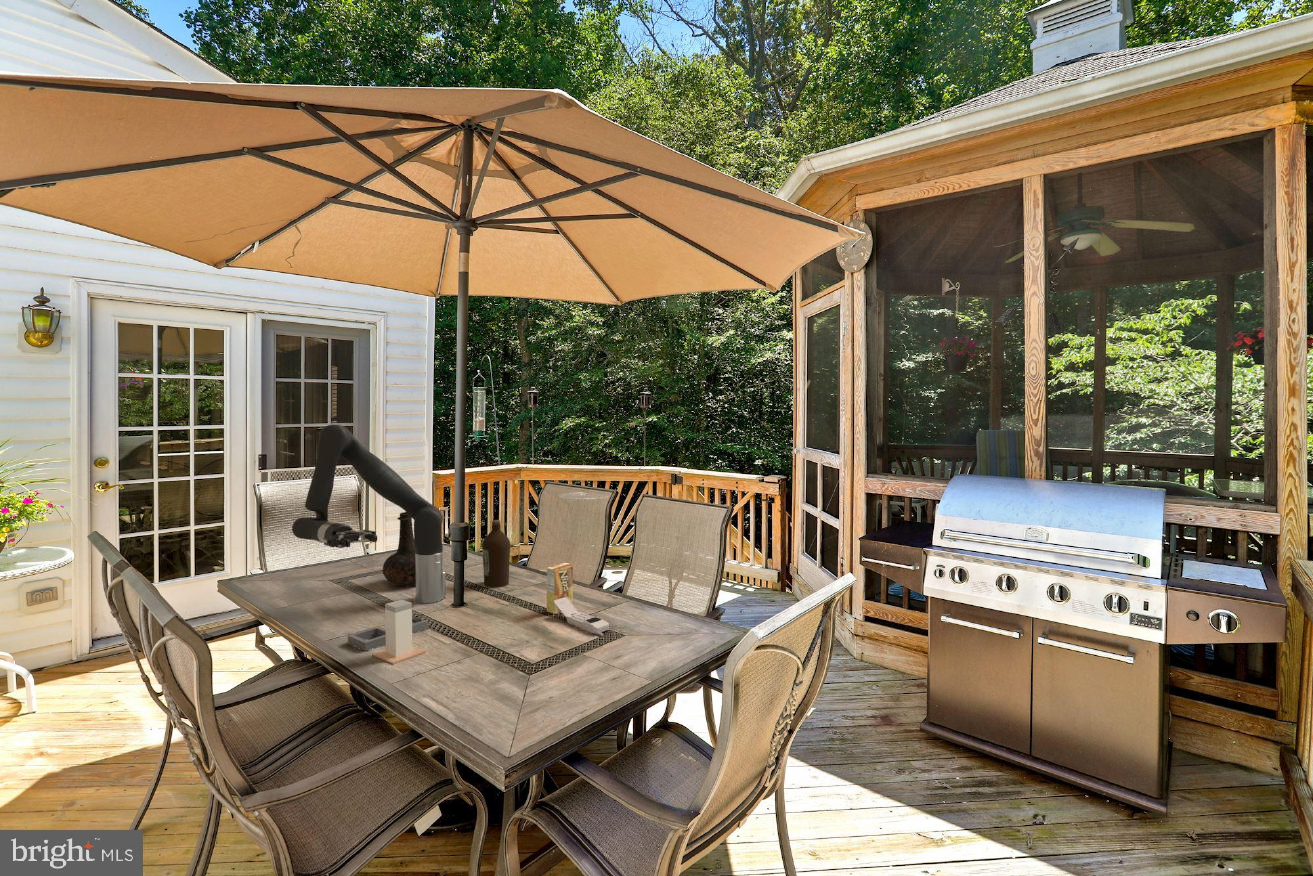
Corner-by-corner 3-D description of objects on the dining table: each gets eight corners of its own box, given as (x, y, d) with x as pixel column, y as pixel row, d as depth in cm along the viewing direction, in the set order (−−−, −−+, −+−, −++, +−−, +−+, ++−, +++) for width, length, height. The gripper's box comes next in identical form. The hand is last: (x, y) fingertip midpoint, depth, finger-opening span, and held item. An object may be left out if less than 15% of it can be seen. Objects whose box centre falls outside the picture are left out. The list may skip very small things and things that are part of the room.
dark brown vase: (441, 578, 249) (440, 509, 247) (414, 592, 232) (413, 517, 230) (402, 575, 253) (401, 507, 251) (372, 588, 236) (371, 515, 234)
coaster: (405, 644, 182) (405, 642, 182) (425, 652, 176) (425, 650, 176) (372, 655, 174) (372, 653, 174) (393, 664, 168) (393, 662, 168)
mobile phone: (566, 596, 210) (614, 614, 192) (566, 613, 210) (614, 633, 193) (551, 600, 206) (599, 619, 188) (552, 617, 206) (599, 638, 188)
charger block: (402, 647, 178) (401, 599, 178) (412, 651, 175) (411, 602, 175) (386, 653, 174) (385, 604, 174) (396, 657, 171) (395, 607, 171)
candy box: (564, 605, 218) (564, 562, 217) (573, 607, 216) (573, 564, 215) (546, 612, 211) (546, 567, 210) (555, 614, 208) (555, 569, 208)
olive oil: (506, 578, 250) (506, 517, 248) (513, 585, 240) (513, 522, 239) (479, 582, 245) (479, 519, 243) (485, 589, 235) (485, 524, 234)
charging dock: (412, 623, 199) (412, 614, 199) (430, 629, 194) (430, 620, 194) (347, 643, 182) (347, 633, 182) (365, 651, 176) (365, 641, 176)
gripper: (312, 526, 194) (339, 533, 185) (356, 519, 206) (384, 525, 197) (313, 550, 195) (340, 557, 185) (357, 541, 206) (384, 548, 197)
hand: (362, 541), depth 191 cm, fingers open, 8 cm apart
